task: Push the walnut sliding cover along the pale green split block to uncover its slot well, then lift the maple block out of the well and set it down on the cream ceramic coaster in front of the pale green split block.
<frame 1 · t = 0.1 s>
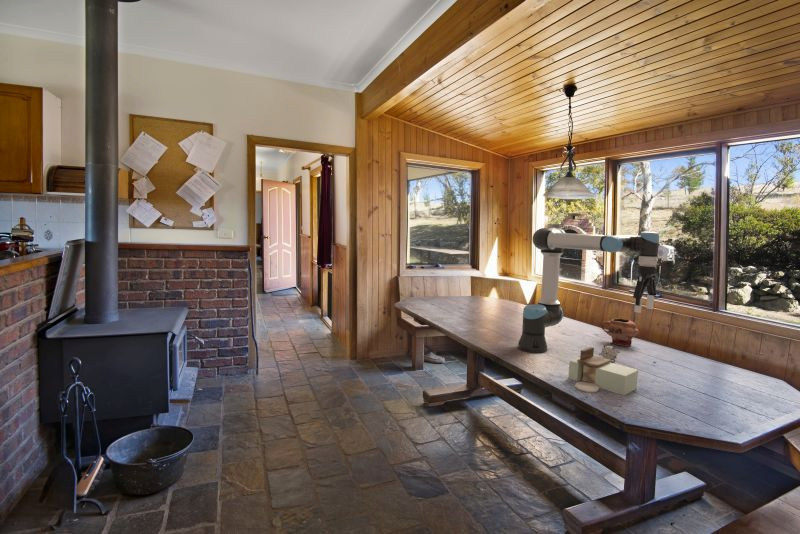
hand: (643, 310, 210), 28 cm above the table, tool pointing down, fingers open, 13 cm apart
maple block: (592, 380, 196), on the table
decorative planter: (618, 343, 255), on the table
cream coaster: (586, 388, 187), on the table
walnut cover: (594, 356, 195), point 11 cm above the table, slide at 0.0 cm
game die: (608, 361, 223), on the table
pale green split block: (592, 380, 196), on the table
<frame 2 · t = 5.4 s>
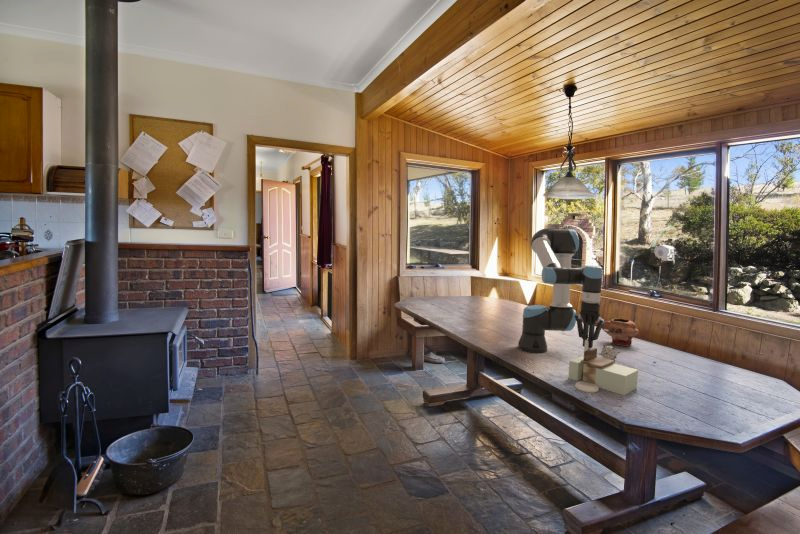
hand: (587, 354, 197), 11 cm above the table, tool pointing down, fingers closed
walnut cover: (597, 357, 194), point 11 cm above the table, slide at 1.6 cm, touching gripper
everything else where it was.
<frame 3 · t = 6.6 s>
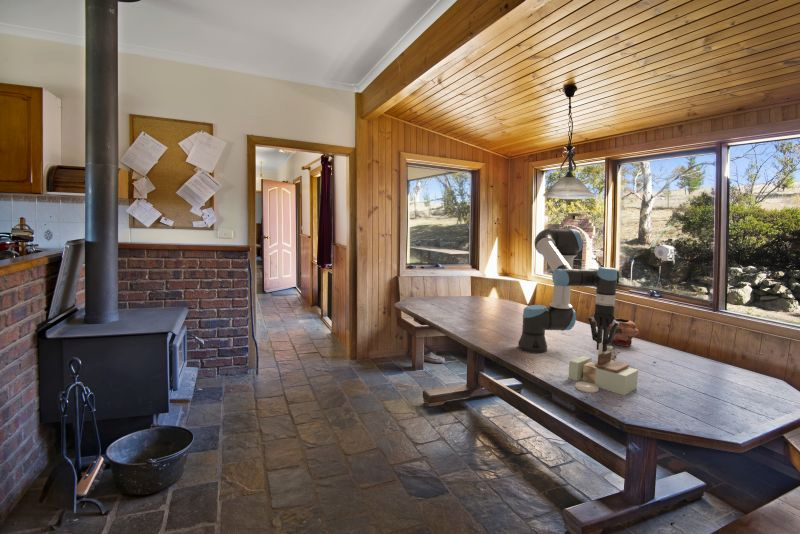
hand: (601, 358, 192), 11 cm above the table, tool pointing down, fingers closed
walnut cover: (612, 361, 189), point 11 cm above the table, slide at 7.7 cm, touching gripper
everything else where it was.
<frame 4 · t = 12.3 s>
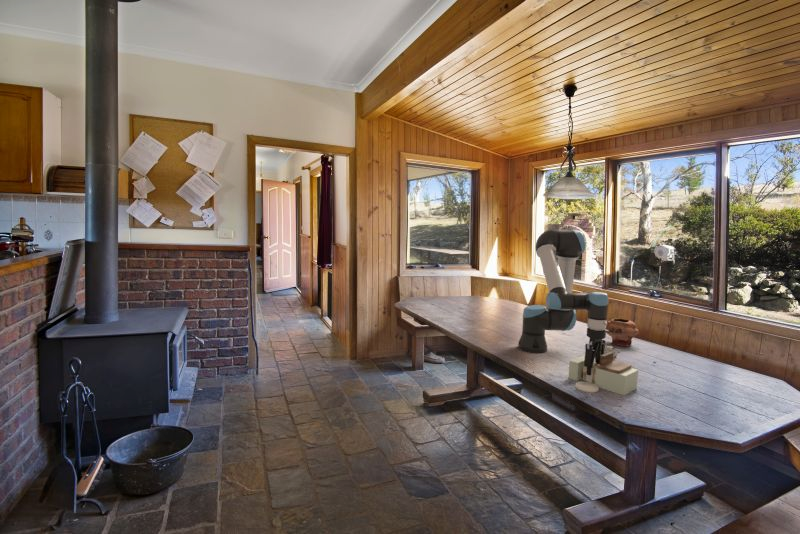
hand: (593, 380, 196), 0 cm above the table, tool pointing down, fingers closed on maple block, 6 cm apart
maple block: (592, 380, 196), on the table, touching gripper
walnut cover: (614, 361, 188), point 11 cm above the table, slide at 8.7 cm
everything else where it was.
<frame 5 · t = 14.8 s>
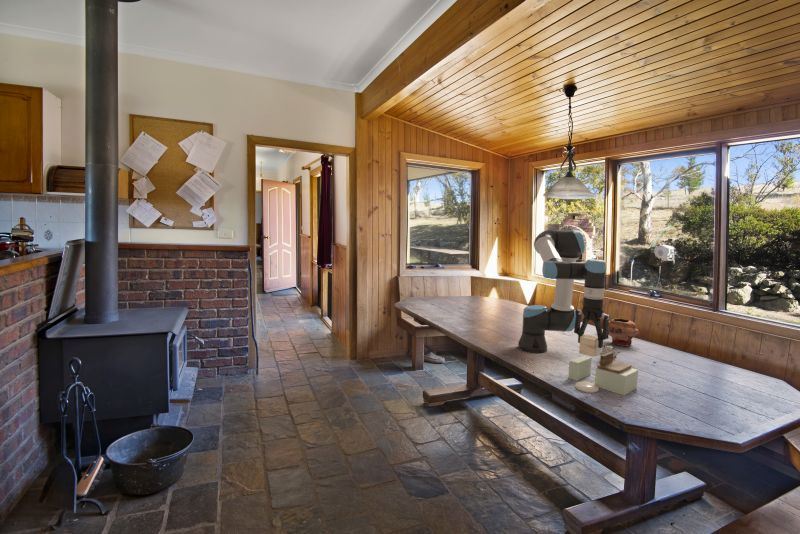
hand: (589, 353, 185), 15 cm above the table, tool pointing down, fingers closed on maple block, 6 cm apart
maple block: (589, 353, 185), point 15 cm above the table, touching gripper
everything else where it was.
when the fingers open (2 cm above the table, at t = 17.3 s): maple block drops 1 cm, resting on cream coaster.
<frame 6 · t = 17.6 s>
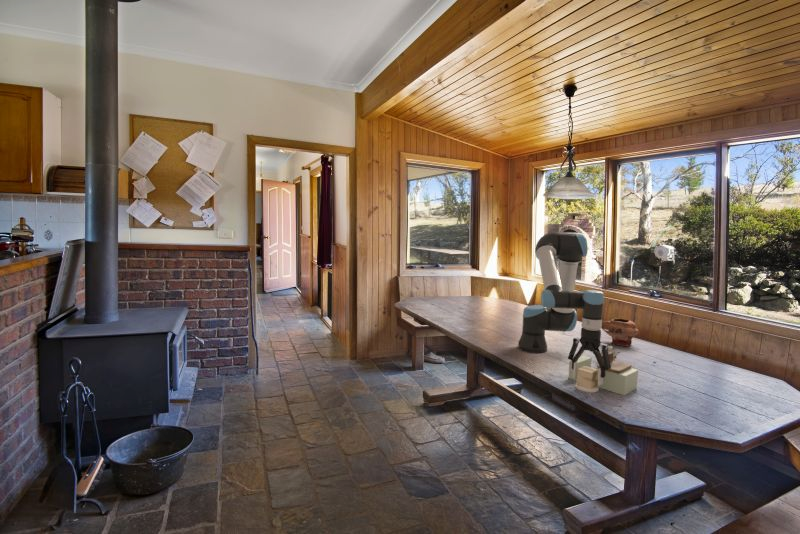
hand: (587, 380, 186), 3 cm above the table, tool pointing down, fingers open, 10 cm apart
maple block: (587, 385, 187), point 1 cm above the table, touching cream coaster
everything else where it was.
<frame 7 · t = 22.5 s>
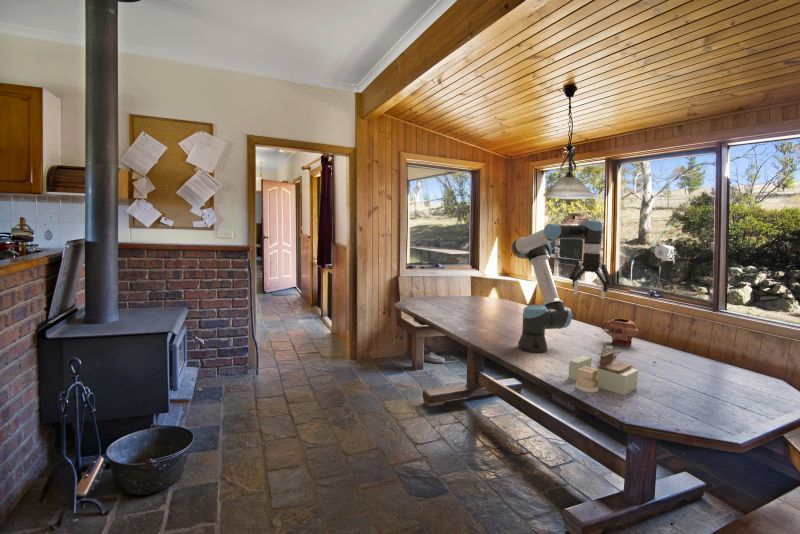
hand: (588, 296, 218), 33 cm above the table, tool pointing down, fingers open, 13 cm apart
nothing on the table moved.
at the end: walnut cover slide at 8.7 cm; maple block inside the target area on the cream coaster (0.2 cm from its centre), point 1.2 cm above the cream coaster's base; maple block tilted 0° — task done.
